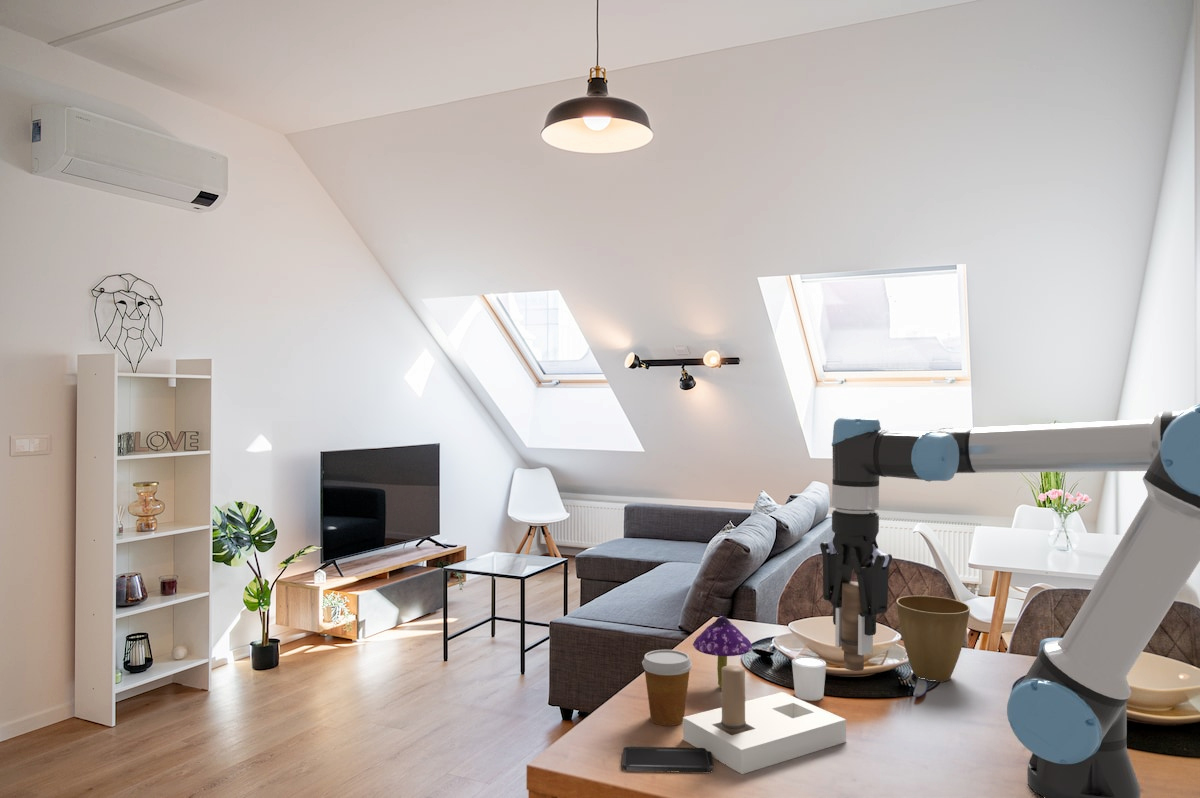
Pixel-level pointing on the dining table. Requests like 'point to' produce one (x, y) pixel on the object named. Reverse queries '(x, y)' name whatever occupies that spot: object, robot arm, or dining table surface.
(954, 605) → the plant pot
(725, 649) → the decorative mushroom
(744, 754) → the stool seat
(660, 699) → the disposable coffee cup
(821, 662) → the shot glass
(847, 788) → the dining table surface
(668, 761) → the phone
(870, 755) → the dining table surface
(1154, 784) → the dining table surface
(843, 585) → the walnut leg
